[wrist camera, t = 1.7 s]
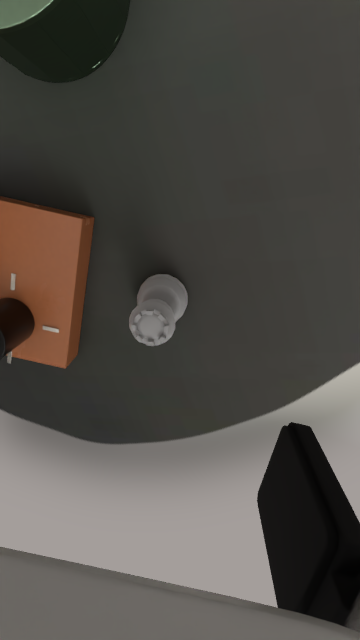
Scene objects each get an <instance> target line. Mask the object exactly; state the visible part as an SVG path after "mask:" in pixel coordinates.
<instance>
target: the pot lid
mask: <svg viewBox="0 0 360 640" xmlns="http://www.w3.org/2000/svg"><path fill="white" fill-rule="evenodd" d="M60 1H61V0H0V34H3V33H9V32H14V31H17V30H19V29H22V28H25V27H28V26H29V25H31V24H33V23H35V22H36V21H38V20H40V19H42V18H43V17H44V16H45V15H46V14H48V13H49V12H50V11H51V10H53V9H54V8H55V7H56V6H57V4H58V3H59V2H60Z"/></svg>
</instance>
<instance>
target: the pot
mask: <svg viewBox="0 0 360 640" xmlns="http://www.w3.org/2000/svg"><path fill="white" fill-rule="evenodd" d="M129 3H130V0H61V1H60V2H59V3H58V4H57V6H56V7H55V8H54V9H53V10H51V11H50V12H49V13H48V14H46V15H45V16H44V17H43V18H42V19H40V20H38V21H36V22H35V23H33V24H31V25H29V26H28V27H25V28H22V29H19V30H17V31H14V32H9V33H3V34H0V56H1V57H2V58H3V59H5V60H6V61H8V62H9V63H10V64H12V65H13V66H14V67H16V68H17V69H18V70H20V71H21V72H23V73H24V74H25V75H28V76H31V77H33V78H36V79H39V80H42V81H47V82H54V83H62V82H69V81H74V80H77V79H80V78H83V77H85V76H87V75H88V74H90V73H92V72H93V71H95V70H96V69H97V68H99V67H100V66H101V65H102V64H103V63H104V62H105V61H106V60H107V58H108V57H109V56H110V55H111V53H112V52H113V50H114V49H115V47H116V45H117V44H118V42H119V40H120V37H121V35H122V33H123V30H124V27H125V24H126V20H127V16H128V10H129Z"/></svg>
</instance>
